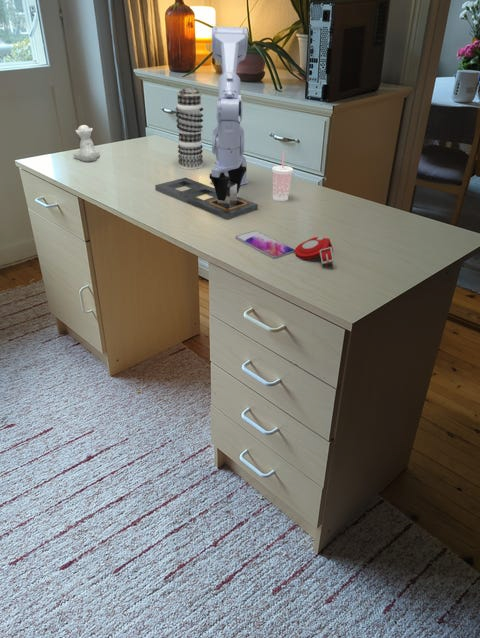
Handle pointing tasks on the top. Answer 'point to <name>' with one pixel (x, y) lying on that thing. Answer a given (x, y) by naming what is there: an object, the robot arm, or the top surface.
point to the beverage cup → (281, 181)
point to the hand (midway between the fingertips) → (228, 196)
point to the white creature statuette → (86, 145)
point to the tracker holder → (316, 250)
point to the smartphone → (265, 244)
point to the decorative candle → (189, 128)
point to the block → (229, 197)
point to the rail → (207, 204)
